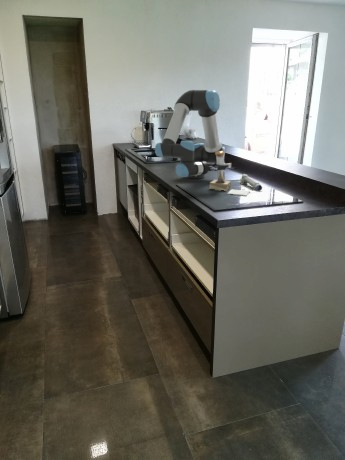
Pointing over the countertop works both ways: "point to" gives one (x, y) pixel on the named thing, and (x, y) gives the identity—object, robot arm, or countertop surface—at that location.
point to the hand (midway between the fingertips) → (227, 164)
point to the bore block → (220, 185)
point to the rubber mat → (238, 192)
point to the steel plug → (220, 162)
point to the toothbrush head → (250, 182)
